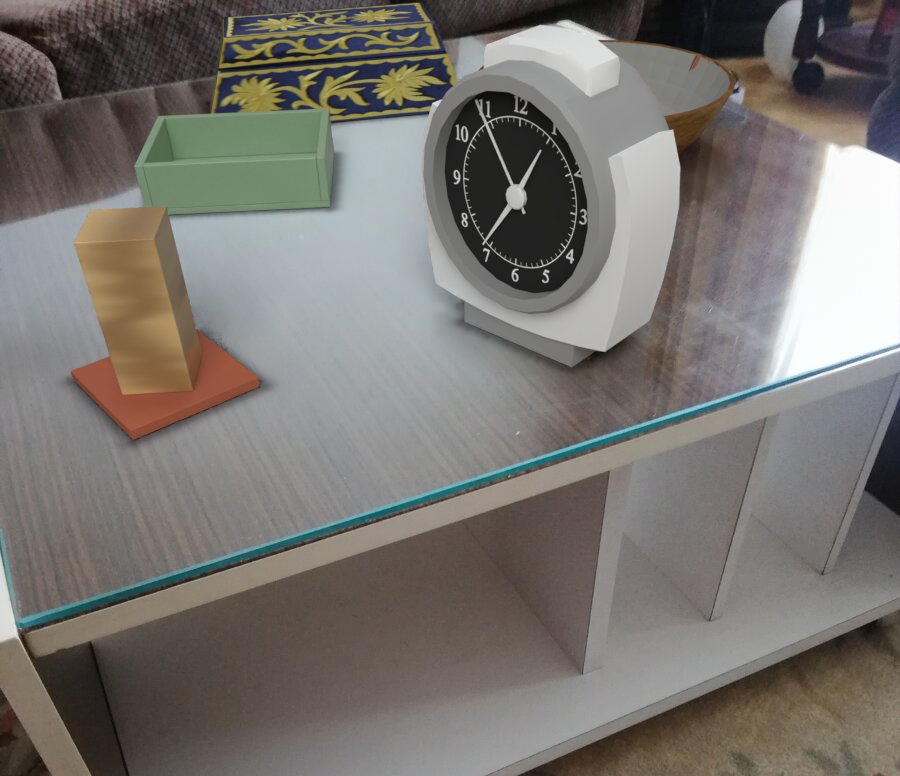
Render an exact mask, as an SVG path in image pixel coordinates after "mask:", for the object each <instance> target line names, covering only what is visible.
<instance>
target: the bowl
mask: <svg viewBox="0 0 900 776" xmlns="http://www.w3.org/2000/svg"><path fill="white" fill-rule="evenodd" d="M597 40H598V41H599V42H601V43H602V44H603V45H604V46H606V47H607V48H608V49H609V50H611V51H614V52H615V53H616V54H618V55H619V56H620V57H621V58H623V59H624V60H625V61H626V62H627V63H629V64H630V65H631V66H632V67H634V68H635V69H636V70H637V71H638V72H639V74H640V75H641V76H642V78H643V79H644V81H645V82H646V83H647V85H648V86H649V88H650V89H651V90H652V92H653V93H654V95H655V96H656V98H657V100H658V103H659V105H660V108H661V110H662V112H663V115H664V117H665V120H666V122H667V125H668V127H669V130H673V132H674V137H675V142H676V147H677V153H678V155H680V154H681V153H683V151H684V150H686V149H687V148H688V147H690V145H692V144H693V143H694V142H695V141H696V140H697V139H698V138H699V137H700V136H701V135H702V134H703V133H704V132H705V131H706V130H707V128H708V127H709V126H711V124H712V123H713V122H714V121H715V119H716V118H717V116H719V113H720V112H721V111H722V110H723V108H724V107H725V105H726V103H727V102H728V101H729V99H730V97H731V96H732V94H733V92H734V90H735V87H736V84H737V81H736V78H735V75H734V73H732V71H731V70H730V69H729V68H728V67H727V66H725V65H724V64H722V63H721V62H719V61H717V60H716V59H713V58H711V57H709V56H705V55H704V54H701V53H698V52H695V51H692V50H688V49H684V48H681V47H676V46H673V45H672V46H671V45H666V44H661V43H654V42H653V43H652V42H646V41H635V40H620V39H597ZM482 69H484V64H483V65H482V66H481V67H480V68H479V69H478V70H477V71H479V70H482Z"/></svg>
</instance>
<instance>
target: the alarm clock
mask: <svg viewBox="0 0 900 776" xmlns="http://www.w3.org/2000/svg"><path fill="white" fill-rule="evenodd" d="M598 40H599V39H597V38H596V37H595V36H593V35H591V34H588V33H585V32H581V31H578V30H574V29H571V28H568V27H561V26H553V25H544V24H539V25H536V26H534V27H530V28H528V29H526V30H522V31H520V32H517V33H514V34H511V35H508V36H506V37H503V38H500V39H498V40H495V41H492V42H490V43H487V44H486V45H485V47H484V50H483V65H484V69H482V70H479V69H478V70H479V71H478V70H476V71H473V72H471V73H469V74H466V75H464V76H463V77H462V78H460V79H459V80H458V82H457V83H456V84H455V85H454V86H453V87H452V88H450V89H449V90H448V91H447V92H446V93H445V95H444V97H443V99H441V100H439V101H436V102H434V103H432V106H431V109H430V113H429V114H428V117H427V120H426V123H425V127H424V130H423V139H422V158H421V175H422V193H423V206H424V213H425V214H424V215H425V222H426V232H427V243H428V247H429V253H430V260H431V265H432V271H433V277H434V283H435V284H436V285H438V286H439V287H441V288H443V289H444V290H445V291H447V292H449V293H451V294H452V295H453V296H454V297H457V298H458V299H460V300H462V301H463V304H464V305H463V307H464V308H463V310H464V313H463V315H464V317H463V318H464V321H463V322H464V323H466V324H468V325H471V326H473V327H475V328H478V329H481V330H483V331H485V332H486V333H490V334H492V335H494V336H496V337H500V338H501V339H504V340H506V341H509V342H511V343H514V344H516V345H518V346H519V347H522V348H525V349H528V350H530V351H532V352H534V353H536V354H539V355H542V356H544V357H546V358H549V359H551V360H553V361H556V362H558V363H560V364H563V365H565V366H567V367H570V368H573V367H575V366H577V365H578V364H579V363H580V362H583V361H584V360H585V359H587V358H588V357H589V356H591V355H592V354H594V353H595V352H604V353H606V352H607V351H608V350H610V349H611V348H613V347H614V346H615V345H617V344H619V343H620V342H622V341H623V340H625V338H628V336H630V335H632V334H633V333H634V332H636V331H637V330H639V329H640V328H642V327H643V326H644V325H646V324H647V323H648V322H650V321H651V319H652V316H653V312H654V310H655V306H656V304H657V301H658V297H659V295H660V291H661V289H662V286H663V282H664V278H665V275H666V271H667V266H668V262H669V258H670V254H671V250H672V246H673V243H674V236H675V231H676V227H677V226H676V225H677V220H678V215H679V209H680V190H681V189H680V188H681V163H680V159H679V154H678V153H677V147H676V142H675V137H674V132H673V130H669V127H668V125H667V122H666V120H665V117H664V115H663V112H662V110H661V108H660V105H659V103H658V100H657V98H656V96H655V95H654V93H653V92H652V90H651V89H650V88H649V86H648V85H647V83H646V82H645V81H644V79H643V78H642V76H641V75H640V74H639V72H638V71H637V70H636V69H635V68H634V67H632V66H631V65H630V64H629V63H627V62H626V61H625V60H624V59H623V58H621V57H620V56H619V55H618V54H616V53H615V52H614V51H611V50H609V49H608V48H607V47H606V46H604V45H603V44H602V43H601V42H599V41H598Z"/></svg>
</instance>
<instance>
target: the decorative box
mask: <svg viewBox="0 0 900 776" xmlns="http://www.w3.org/2000/svg"><path fill="white" fill-rule="evenodd" d="M216 59H217V60H216V66H215V73H214V78H213V79H214V80H213V86H212V92H211V97H210V98H211V99H210V107H209V109H210V110H209V114H216V113H238V112H260V111H283V110H305V109H329V111H330V120H331V123H339V122H340V123H341V122H352V121H353V122H354V121H361V120H374V119H385V118H386V119H387V118H397V117H406V116H407V117H408V116H417V115H429V113H430V109H431V106H432V103H434V102H436V101H439V100H441V99H443V97H444V95H445V93H446V92H447V91H448V90H449V89H450V88H452V87H453V86H454V85H455V84H456V83H457V82H458V81H459V80H458V78H457V75H456V73H455V70H454V67H453V66H452V65H453V64H452V62H451V59H450V58H449V55H448V52H447V50H446V47H445V44H444V42H443V40H442V37H441V34H440V31H439V30H438V26H437V24H436V21H435V19H434V18H433V17H432V15H431V14H430V12H429V11H428V10H427V8H426V7H425V6H424V4H423V3H422V1H418V2H404V3H390V4H378V5H377V4H376V5H365V6H364V5H363V6H354V7H353V6H351V7H336V8H323V9H312V10H310V9H309V10H299V11H286V12H271V13H260V14H246V15H244V14H243V15H232V16H224V17H223V21H222V28H221V34H220V40H219V47H218V52H217V58H216Z"/></svg>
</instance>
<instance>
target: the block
mask: <svg viewBox="0 0 900 776" xmlns="http://www.w3.org/2000/svg"><path fill="white" fill-rule="evenodd" d="M174 236H175V235H174V232H173V228H172V222H171V218H170V215H169V214H168V210H167V207H166V206H160V207H144V206H143V207H142V206H141V207H121V208H120V207H119V208H101V209H99V208H98V209H90V210H89V212H88V214H87V216H86V217H85V219H84V221H83V223H82V225H81V228H80V229H79V231H78V233H77V235H76V237H75V239H74V241H73V246H74V249H75V252H76V255H77V258H78V262H79V265H80V268H81V271H82V274H83V277H84V280H85V283H86V286H87V289H88V292H89V296H90V298H91V302H92V304H93V308H94V311H95V314H96V317H97V320H98V323H99V326H100V330H101V332H102V337H103V339H104V342H105V345H106V348H107V351H108V354H109V356H110V357H111V361H112V364H113V367H114V370H115V373H116V376H117V379H118V382H119V385H120V388H121V391H122V394H123V395H129V394H148V393H167V392H186V391H193V390H194V386H195V382H196V378H197V374H198V370H199V366H200V362H201V358H202V350H201V346H200V342H199V338H198V334H197V330H198V329H197V325H196V322H195V318H194V317H195V316H194V313H193V310H192V306H191V301H190V296H189V294H188V289H187V284H186V280H185V276H184V272H183V268H182V265H181V260H180V256H179V251H178V247H177V244H176V240H175V237H174ZM196 329H197V330H196Z"/></svg>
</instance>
